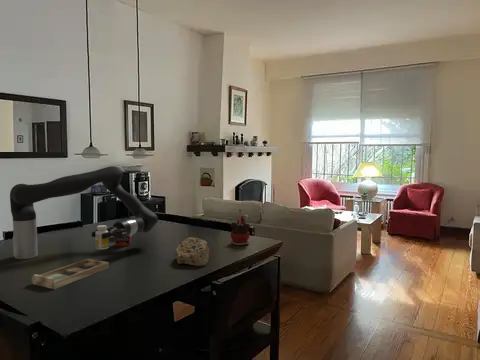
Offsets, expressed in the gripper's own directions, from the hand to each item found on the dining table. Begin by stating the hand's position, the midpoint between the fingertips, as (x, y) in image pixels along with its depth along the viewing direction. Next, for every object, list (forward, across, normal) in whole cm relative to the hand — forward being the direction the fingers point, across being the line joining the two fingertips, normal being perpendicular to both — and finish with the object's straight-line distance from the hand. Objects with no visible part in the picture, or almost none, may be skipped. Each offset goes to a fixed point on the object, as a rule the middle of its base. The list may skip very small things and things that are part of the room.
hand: (97, 235), depth 161 cm
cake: (-57, +40, +12) cm, 71 cm away
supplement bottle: (-3, 0, +6) cm, 7 cm away
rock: (-23, +33, +12) cm, 42 cm away
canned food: (-29, -13, +12) cm, 34 cm away
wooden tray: (+15, +2, +12) cm, 20 cm away
